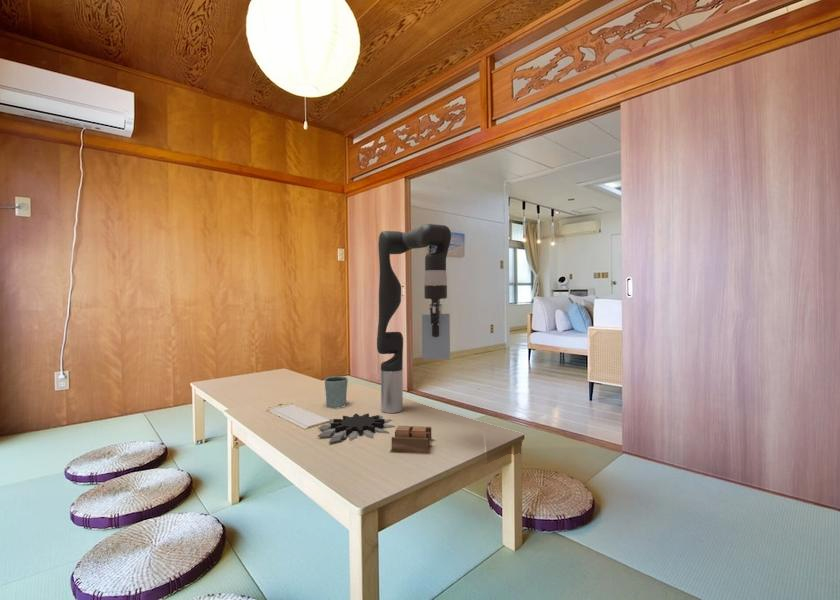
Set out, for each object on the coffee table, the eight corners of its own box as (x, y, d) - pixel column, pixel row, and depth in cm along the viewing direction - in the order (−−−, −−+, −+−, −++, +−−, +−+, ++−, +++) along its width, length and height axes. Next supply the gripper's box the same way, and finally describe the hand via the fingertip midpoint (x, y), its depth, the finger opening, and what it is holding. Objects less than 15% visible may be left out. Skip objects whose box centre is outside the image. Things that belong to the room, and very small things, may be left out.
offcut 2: (413, 446, 120) (413, 427, 120) (426, 446, 119) (425, 427, 119) (411, 450, 117) (411, 430, 117) (424, 450, 116) (424, 430, 116)
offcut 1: (397, 445, 121) (397, 426, 121) (410, 446, 120) (410, 426, 120) (395, 449, 118) (395, 429, 118) (408, 449, 117) (408, 430, 117)
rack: (397, 442, 127) (396, 425, 127) (433, 443, 126) (432, 427, 126) (389, 457, 115) (389, 439, 115) (429, 459, 114) (428, 440, 114)
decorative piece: (296, 426, 133) (353, 404, 159) (296, 437, 133) (353, 414, 159) (364, 442, 118) (415, 416, 143) (364, 455, 118) (415, 426, 144)
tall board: (423, 357, 130) (423, 313, 130) (450, 358, 129) (449, 313, 129) (422, 359, 127) (422, 314, 127) (449, 359, 126) (449, 314, 126)
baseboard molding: (301, 432, 139) (330, 424, 148) (301, 424, 139) (330, 416, 148) (265, 414, 161) (292, 408, 170) (265, 407, 161) (292, 401, 170)
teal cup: (341, 401, 178) (341, 375, 178) (352, 406, 170) (352, 378, 170) (320, 405, 171) (320, 378, 171) (331, 410, 163) (330, 382, 163)
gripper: (426, 285, 135) (427, 334, 136) (421, 284, 122) (422, 338, 122) (448, 284, 134) (448, 334, 135) (445, 283, 121) (445, 338, 121)
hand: (436, 335), depth 128 cm, fingers closed on tall board, 3 cm apart
